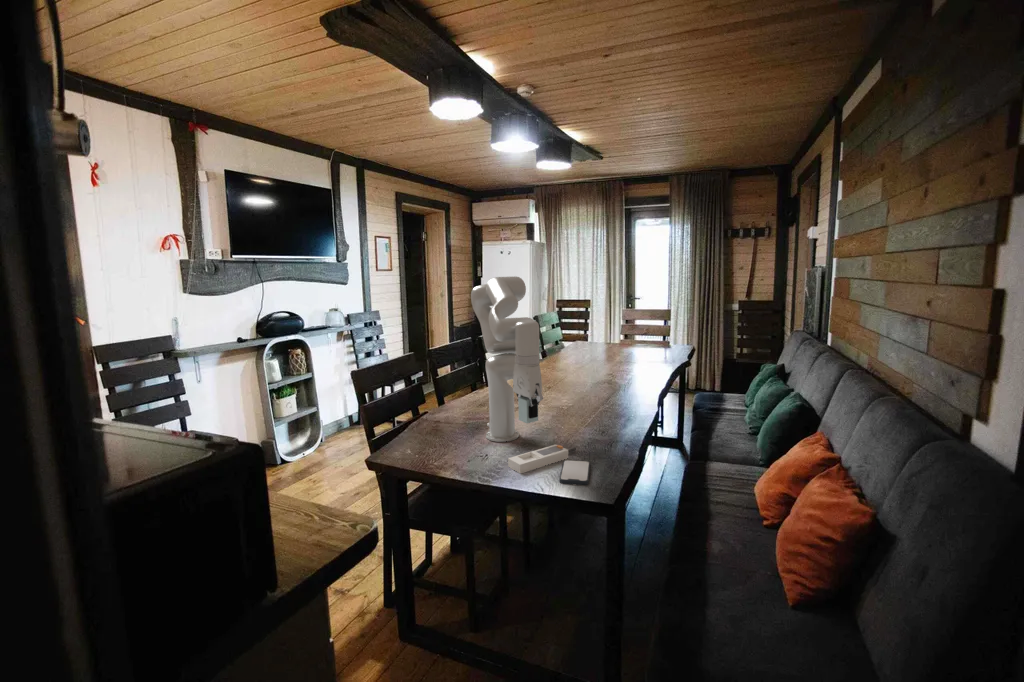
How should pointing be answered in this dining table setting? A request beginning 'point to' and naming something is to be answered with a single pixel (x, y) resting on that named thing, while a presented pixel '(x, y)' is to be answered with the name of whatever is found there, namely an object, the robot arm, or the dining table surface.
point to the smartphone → (575, 472)
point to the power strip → (538, 458)
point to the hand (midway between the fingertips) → (528, 414)
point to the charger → (525, 410)
